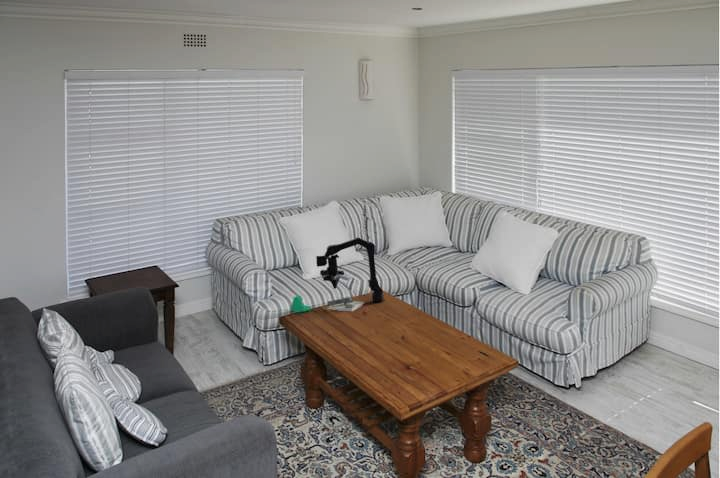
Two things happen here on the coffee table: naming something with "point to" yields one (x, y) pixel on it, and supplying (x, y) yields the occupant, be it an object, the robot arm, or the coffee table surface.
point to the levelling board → (342, 307)
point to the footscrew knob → (340, 301)
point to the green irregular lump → (299, 305)
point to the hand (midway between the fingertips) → (335, 288)
